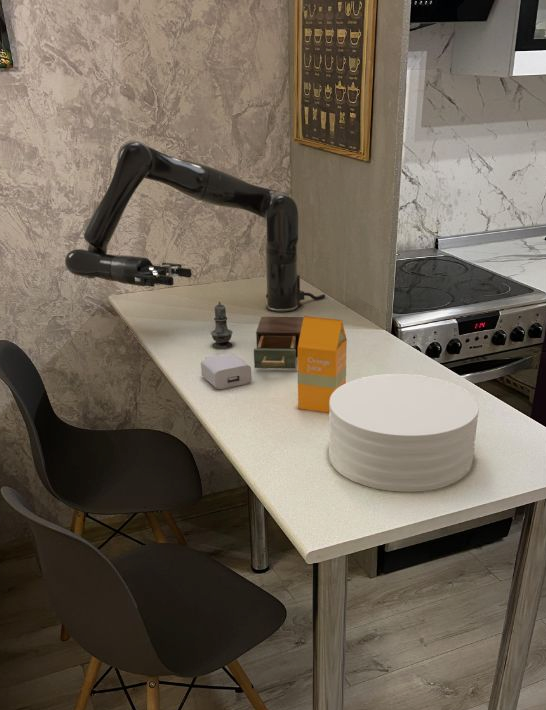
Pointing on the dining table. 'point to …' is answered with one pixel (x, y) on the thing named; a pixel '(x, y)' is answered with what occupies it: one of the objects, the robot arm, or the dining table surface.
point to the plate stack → (402, 432)
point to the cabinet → (280, 327)
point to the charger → (225, 371)
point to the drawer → (275, 352)
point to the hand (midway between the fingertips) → (181, 277)
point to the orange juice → (320, 362)
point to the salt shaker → (221, 328)
